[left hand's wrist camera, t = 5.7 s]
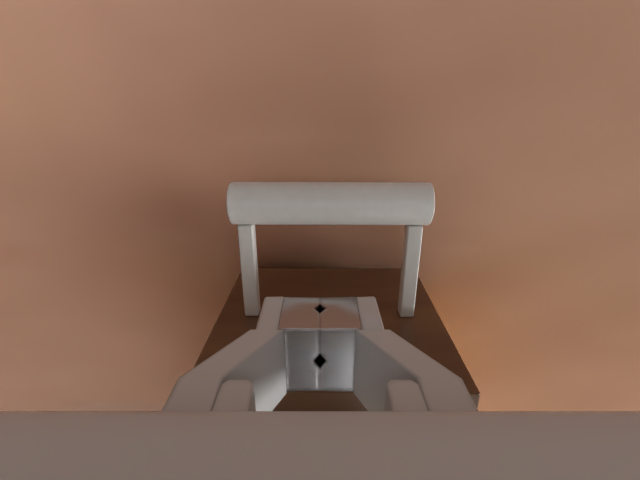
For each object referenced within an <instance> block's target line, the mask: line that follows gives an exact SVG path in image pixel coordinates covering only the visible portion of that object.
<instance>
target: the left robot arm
mask: <svg viewBox="0 0 640 480" xmlns="http://www.w3.org/2000/svg"><path fill="white" fill-rule="evenodd" d="M286 391H354V392H353V393H354V394H355V395H356V397H357V398H358V399H359V400H360V402H361V403H362V404H363V405H364V407H365V408H366V409H367V410H368V411H273V409H274V408H275V407H276V406H277V405H278V403H279V402H280V401H281V400H282V398H283V397H284V396H285V395H286V393H287V392H286ZM0 480H640V411H478V409H477V407H476V405H475V404H474V402H473V400H472V398H471V396H470V394H469V392H468V390H467V388H466V386H465V384H464V382H463V380H462V378H460V377H459V376H457V375H456V374H454V373H453V372H451V371H450V370H448V369H447V368H445V367H444V366H442V365H441V364H440V363H438V362H437V361H435V360H434V359H432V358H431V357H429V356H428V355H426V354H425V353H423V352H422V351H420V350H419V349H417V348H416V347H414V346H413V345H412V344H410V343H409V342H407V341H406V340H404V339H403V338H401V337H400V336H398V335H397V334H395V333H394V332H392V331H391V330H384V326H383V323H382V319H381V316H380V313H379V309H378V306H377V302H376V299H375V297H374V296H368V297H326V298H320V297H283V296H278V297H265V299H264V302H263V305H262V309H261V312H260V316H259V319H258V323H257V326H256V330H249V331H248V332H246V333H245V334H243V335H242V336H240V337H239V338H237V339H236V340H234V341H233V342H231V343H230V344H228V345H227V346H225V347H224V348H222V349H221V350H220V351H218V352H217V353H215V354H214V355H212V356H211V357H209V358H208V359H206V360H205V361H203V362H202V363H200V364H199V365H197V366H196V367H194V368H193V369H191V370H190V371H188V372H187V373H185V374H184V375H183V376H181V377H180V378H178V380H177V382H176V384H175V386H174V388H173V390H172V392H171V394H170V396H169V398H168V400H167V402H166V404H165V406H164V407H163V409H162V411H0Z"/></svg>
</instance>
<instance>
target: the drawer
mask: <svg viewBox="0 0 640 480" xmlns="http://www.w3.org/2000/svg"><path fill="white" fill-rule="evenodd" d="M226 205H227V214H228V218H229V221H230V223H231V224H239V225H238V227H237V228H238V239H239V251H240V263H241V273H240V275H239V277H238V279H237V281H236V283H235V285H234V287H233V289H232V291H231V293H230V295H229V297H228V299H227V301H226V303H225V305H224V307H223V309H222V311H221V313H220V315H219V318H218V320H217V322H216V324H215V326H214V328H213V330H212V332H211V334H210V336H209V338H208V340H207V342H206V344H205V346H204V348H203V350H202V352H201V354H200V356H199V358H198V360H197V362H196V364H195V366H194V367H196V366H197V365H199V364H200V363H202V362H203V361H205V360H206V359H208V358H209V357H211V356H212V355H214V354H215V353H217V352H218V351H220V350H221V349H222V348H224V347H225V346H227V345H228V344H230V343H231V342H233V341H234V340H236V339H237V338H239V337H240V336H242V335H243V334H245V333H246V332H248V331H249V330H256V326H257V323H258V319H259V316H260V312H261V309H262V305H263V302H264V299H265V297H278V296H283V297H320V298H326V297H368V296H374V297H375V299H376V302H377V306H378V309H379V313H380V316H381V319H382V323H383V326H384V330H391V331H392V332H394V333H395V334H397V335H398V336H400V337H401V338H403V339H404V340H406V341H407V342H409V343H410V344H412V345H413V346H414V347H416V348H417V349H419V350H420V351H422V352H423V353H425V354H426V355H428V356H429V357H431V358H432V359H434V360H435V361H437V362H438V363H440V364H441V365H442V366H444V367H445V368H447V369H448V370H450V371H451V372H453V373H454V374H456V375H457V376H459V377H460V378H462V380H463V382H464V384H465V386H466V388H467V390H468V392H469V394H470V396H471V398H472V400H473V402H474V404H475V405H476V407H478V402H479V397H480V392H479V390H478V388H477V387H476V385H475V383H474V381H473V379H472V377H471V375H470V373H469V372H468V370H467V368H466V366H465V364H464V362H463V360H462V358H461V356H460V355H459V353H458V351H457V349H456V347H455V345H454V343H453V341H452V340H451V338H450V336H449V334H448V332H447V330H446V328H445V326H444V324H443V323H442V321H441V319H440V317H439V315H438V313H437V311H436V309H435V308H434V306H433V304H432V302H431V300H430V298H429V296H428V294H427V292H426V291H425V289H424V287H423V285H422V283H421V281H420V279H419V277H418V271H419V261H420V252H421V243H422V233H423V226H422V225H429V224H430V223H431V222H432V219H433V216H434V211H435V193H434V188H433V185H432V184H431V183H430V182H231V183H230V184H229V186H228V190H227V198H226ZM255 225H405V231H404V242H403V254H402V265H401V269H326V268H258V262H257V247H256V232H255ZM286 392H287V393H286V395H285V396H284V397H283V398H282V400H281V401H280V402H279V403H278V405H277V406H276V407H275V408H274V409H273V411H368V410H367V409H366V408H365V407H364V405H363V404H362V403H361V402H360V400H359V399H358V398H357V397H356V395H355V394H354V393H353V392H354V391H286Z"/></svg>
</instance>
